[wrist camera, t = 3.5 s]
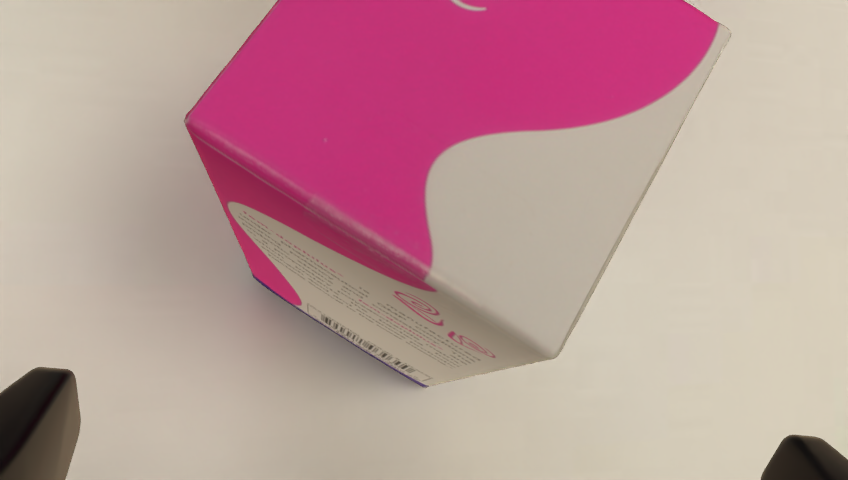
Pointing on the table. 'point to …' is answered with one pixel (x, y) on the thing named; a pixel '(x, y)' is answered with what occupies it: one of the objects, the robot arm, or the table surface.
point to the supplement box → (447, 163)
